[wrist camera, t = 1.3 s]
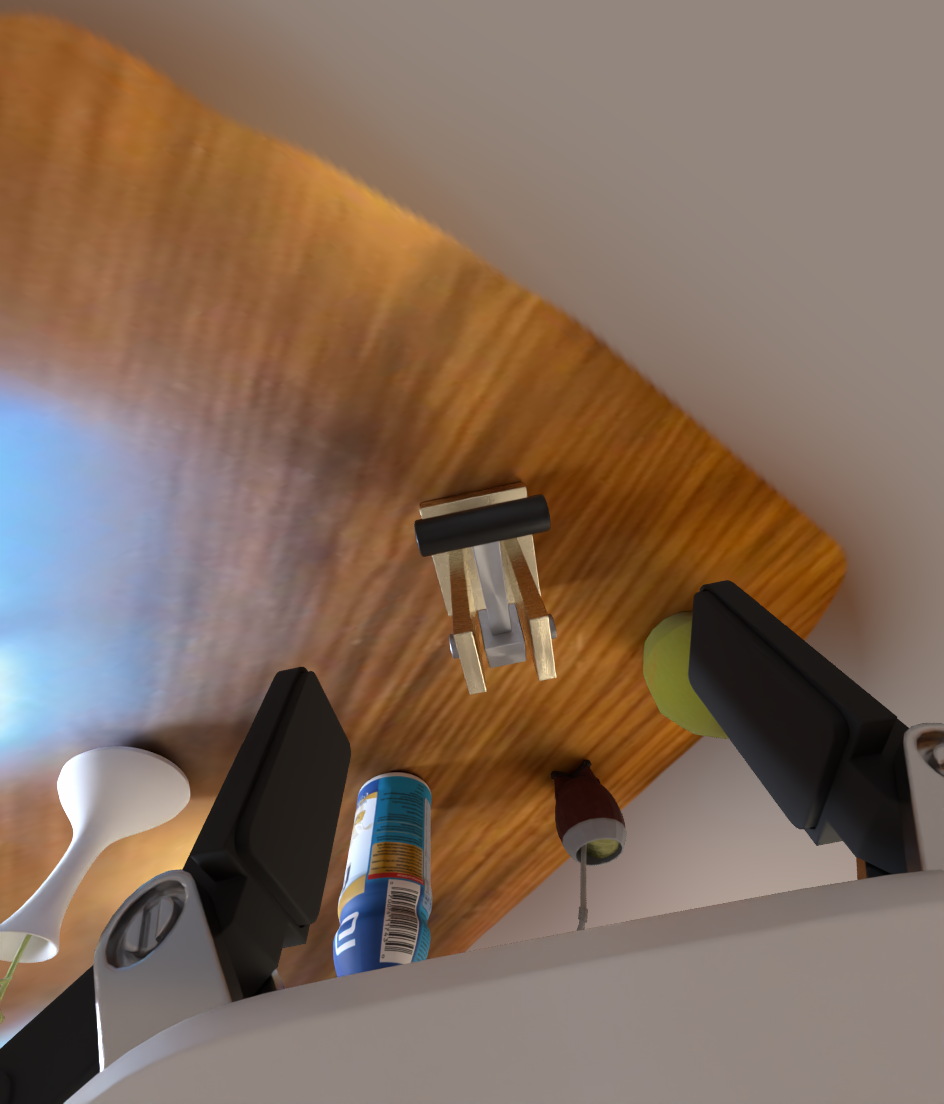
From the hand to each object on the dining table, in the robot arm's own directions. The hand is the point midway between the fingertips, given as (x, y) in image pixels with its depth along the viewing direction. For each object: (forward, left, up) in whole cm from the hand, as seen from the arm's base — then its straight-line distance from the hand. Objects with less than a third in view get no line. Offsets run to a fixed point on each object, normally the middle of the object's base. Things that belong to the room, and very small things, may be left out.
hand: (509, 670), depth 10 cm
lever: (+3, -2, -10) cm, 11 cm away
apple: (+27, +3, -22) cm, 35 cm away
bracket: (+7, -4, -22) cm, 24 cm away
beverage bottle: (+23, -32, -22) cm, 46 cm away
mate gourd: (+37, -17, -22) cm, 47 cm away
